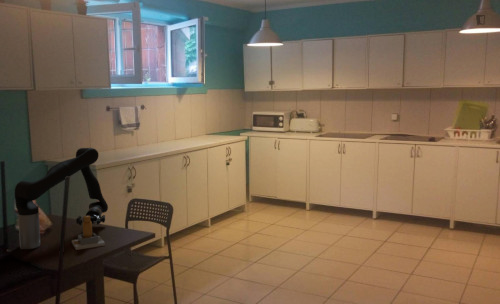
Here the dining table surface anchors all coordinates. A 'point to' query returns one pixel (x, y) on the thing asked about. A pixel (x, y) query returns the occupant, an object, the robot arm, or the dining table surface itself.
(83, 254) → the dining table surface
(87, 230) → the stepped amber cylinder
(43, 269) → the dining table surface
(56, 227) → the dining table surface
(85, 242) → the hollow square frame plate
